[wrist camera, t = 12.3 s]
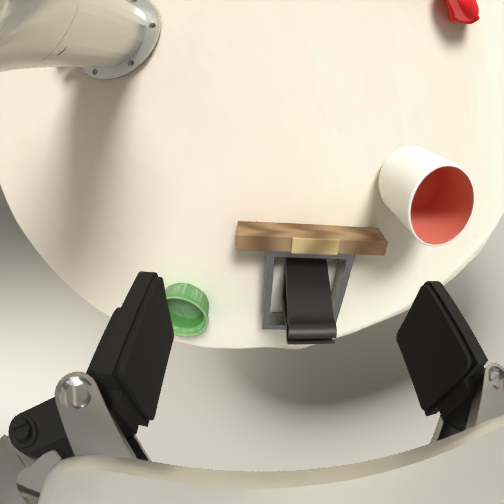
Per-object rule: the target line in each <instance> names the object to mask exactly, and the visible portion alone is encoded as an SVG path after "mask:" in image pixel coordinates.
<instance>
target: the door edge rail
mask: <svg viewBox="0 0 504 504" xmlns="http://www.w3.org/2000/svg"><path fill="white" fill-rule="evenodd" d="M387 244H388V242H387V241H386V239H385V238H384V236H383V235H382V234H381V232H380V231H379V229H375V228H361V227H346V226H330V225H312V224H292V223H269V222H242V221H238V226H237V231H236V249H239V250H265V251H290V252H291V253H301V254H327V255H337V253H341V254H365V255H384V254H385V251H386V247H387Z"/></svg>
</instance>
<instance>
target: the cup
mask: <svg viewBox="0 0 504 504" xmlns="http://www.w3.org/2000/svg"><path fill="white" fill-rule="evenodd" d="M379 191H380V195H381V197H382V200H383V201H384V203H385V205H386V206H387V207H388V208H389V209H390V210H391V211H392V212H393V214H394V215H395V216H396V217H397V218H398V219H399V220H400V221H401V222H402V223H403V224H404V226H405V227H406V228H407V229H408V230H409V231H410V232H411V233H412V235H413V236H414V237H415V238H416V239H417V240H418V241H419V242H421V243H422V244H425V245H428V246H441V245H444V244H447V243H449V242H451V241H452V240H454V239H455V238H456V237H458V236H459V235H460V234H461V232H462V231H463V230H464V229H465V227H466V226H467V224H468V222H469V220H470V218H471V216H472V213H473V209H474V204H475V190H474V185H473V182H472V180H471V178H470V176H469V174H468V173H467V172H466V171H465V170H464V169H463V168H462V167H460V166H459V165H457V164H455V163H453V162H451V161H449V160H447V159H445V158H443V157H441V156H439V155H436V154H434V153H432V152H430V151H428V150H426V149H423V148H421V147H418V146H405V147H401V148H399V149H397V150H395V151H394V152H393V153H391V154H390V155H389V156H388V158H387V159H386V160H385V162H384V164H383V166H382V168H381V171H380V175H379Z"/></svg>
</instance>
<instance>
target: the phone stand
mask: <svg viewBox="0 0 504 504" xmlns="http://www.w3.org/2000/svg"><path fill="white" fill-rule="evenodd" d="M282 307H283V313H284V319H285V326H286V334H287V344H329V343H335V341H333V340H332V338H336V335H337V329H336V323H335V320H334V315H333V306H332V298H331V290H330V283H329V275H328V268H327V262H326V259H317V258H286V261H285V274H284V286H283V298H282Z"/></svg>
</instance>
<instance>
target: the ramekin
mask: <svg viewBox="0 0 504 504" xmlns="http://www.w3.org/2000/svg"><path fill="white" fill-rule="evenodd" d="M165 293H166V298H167V302H168V307H169V312H170V317H171V321H172V325H173V330H174V335H178V336H182V337H193V336H197V335H199V334H201V333H203V332H204V331H205V330H206V328H207V326H208V309H209V303H208V299H207V297H206V296H205V294H204V293H203V292H202V291H201V290H200V289H198V288H197V287H195V286H193V285H190V284H186V283H177V284H173V285H171V286H169V287H168V288H167V289H166V290H165Z"/></svg>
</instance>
